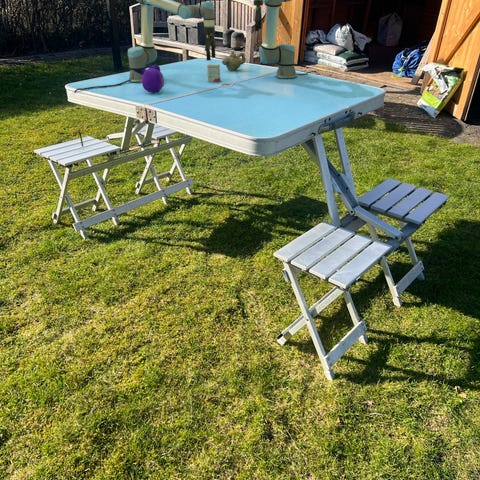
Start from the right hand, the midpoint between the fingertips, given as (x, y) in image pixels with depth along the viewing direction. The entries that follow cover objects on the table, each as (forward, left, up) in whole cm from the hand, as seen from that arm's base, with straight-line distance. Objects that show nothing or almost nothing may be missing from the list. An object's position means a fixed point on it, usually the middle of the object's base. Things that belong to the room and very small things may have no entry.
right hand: (258, 30), depth 357 cm
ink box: (+43, +38, -30) cm, 65 cm away
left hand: (+45, +39, -14) cm, 61 cm away
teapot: (+20, -2, -30) cm, 36 cm away
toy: (+90, +58, -30) cm, 111 cm away
